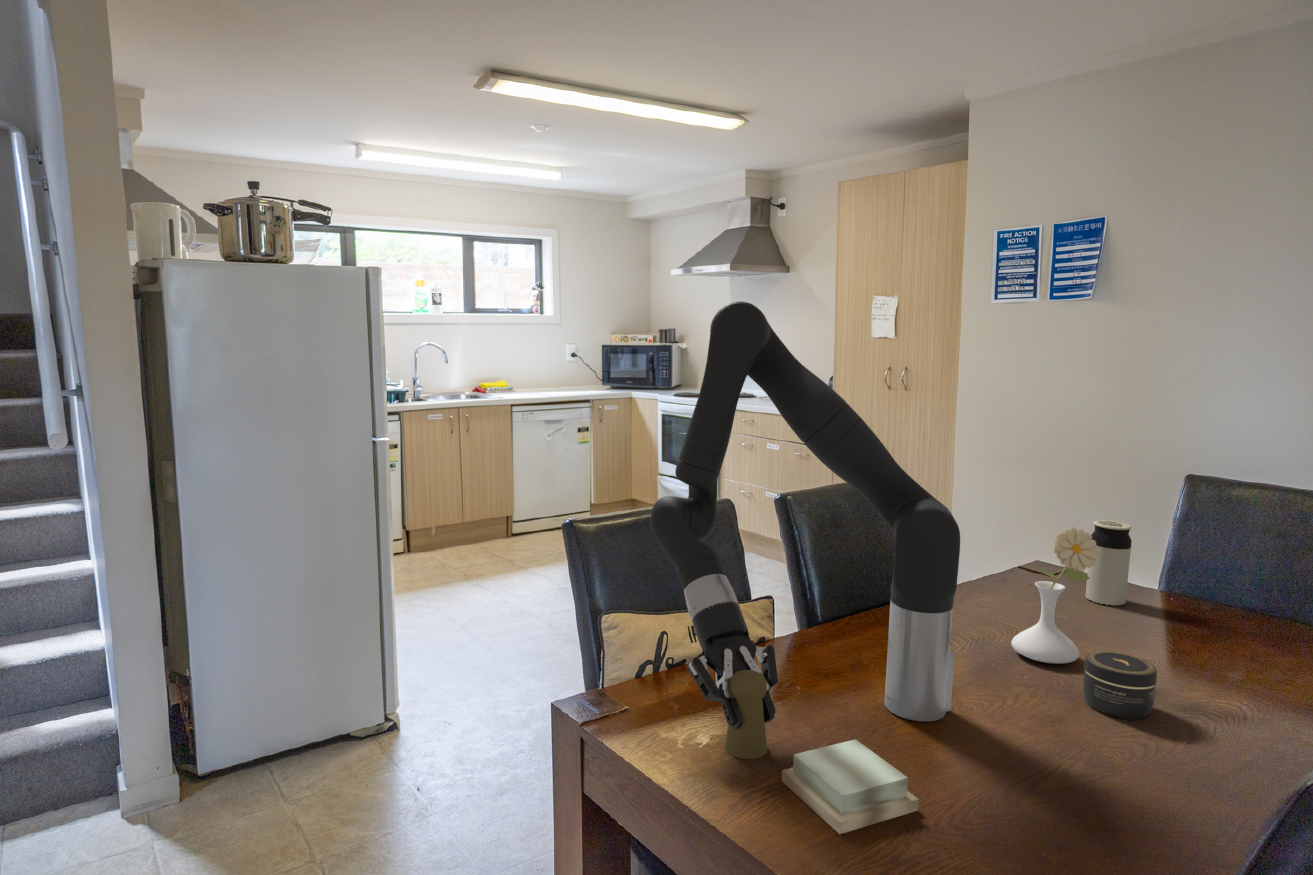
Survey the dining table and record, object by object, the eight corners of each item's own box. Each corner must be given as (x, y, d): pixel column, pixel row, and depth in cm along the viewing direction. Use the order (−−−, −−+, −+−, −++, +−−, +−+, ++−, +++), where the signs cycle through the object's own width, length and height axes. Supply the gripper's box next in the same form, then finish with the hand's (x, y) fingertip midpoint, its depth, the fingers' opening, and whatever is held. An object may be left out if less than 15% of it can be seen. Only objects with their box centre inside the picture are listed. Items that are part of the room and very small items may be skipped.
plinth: (855, 761, 106) (856, 734, 105) (918, 810, 95) (920, 780, 95) (781, 780, 101) (782, 752, 100) (839, 834, 90) (841, 802, 90)
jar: (1092, 687, 131) (1096, 644, 130) (1160, 707, 124) (1165, 662, 123) (1072, 705, 124) (1076, 660, 123) (1143, 728, 117) (1148, 680, 116)
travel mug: (1093, 605, 173) (1100, 526, 171) (1079, 593, 181) (1086, 518, 179) (1131, 607, 172) (1139, 529, 170) (1116, 596, 180) (1123, 520, 177)
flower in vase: (1011, 663, 140) (1022, 529, 137) (1009, 641, 151) (1018, 516, 148) (1093, 675, 135) (1106, 537, 132) (1084, 652, 146) (1096, 523, 143)
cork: (721, 737, 112) (723, 664, 110) (762, 736, 112) (765, 664, 111) (728, 759, 106) (731, 683, 104) (771, 758, 106) (775, 682, 105)
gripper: (680, 606, 110) (719, 724, 101) (765, 594, 116) (809, 704, 107) (664, 628, 116) (699, 742, 106) (745, 616, 122) (786, 723, 112)
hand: (754, 723), depth 107 cm, fingers closed on cork, 4 cm apart
